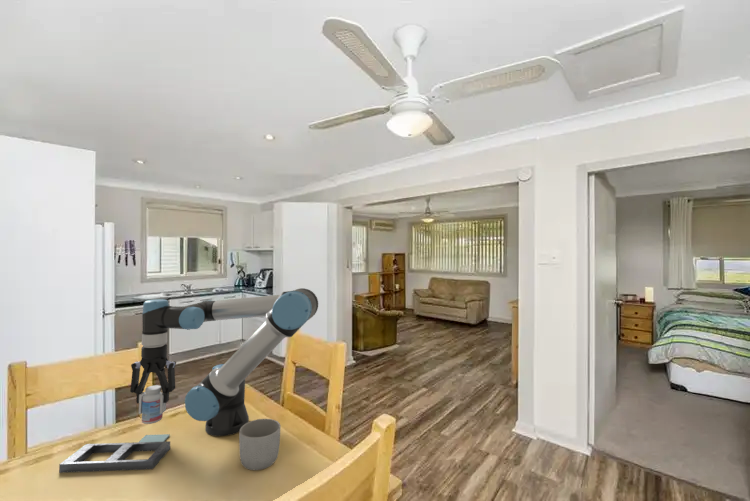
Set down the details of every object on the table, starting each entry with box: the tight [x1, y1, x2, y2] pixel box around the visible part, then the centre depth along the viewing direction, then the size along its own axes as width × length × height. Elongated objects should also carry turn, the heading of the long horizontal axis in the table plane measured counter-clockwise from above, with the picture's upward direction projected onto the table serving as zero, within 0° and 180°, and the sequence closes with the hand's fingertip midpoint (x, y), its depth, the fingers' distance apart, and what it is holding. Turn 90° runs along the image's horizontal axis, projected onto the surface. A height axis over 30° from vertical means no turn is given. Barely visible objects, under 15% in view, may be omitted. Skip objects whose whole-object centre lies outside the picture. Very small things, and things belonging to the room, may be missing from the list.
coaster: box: [138, 433, 171, 442], centre depth 120 cm, size 8×8×1 cm
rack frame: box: [58, 440, 171, 474], centre depth 110 cm, size 26×11×2 cm, turn 96°
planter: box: [238, 418, 281, 471], centre depth 110 cm, size 12×12×11 cm
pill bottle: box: [141, 384, 164, 425], centre depth 120 cm, size 6×6×11 cm
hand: (152, 412), depth 120 cm, fingers closed on pill bottle, 6 cm apart
